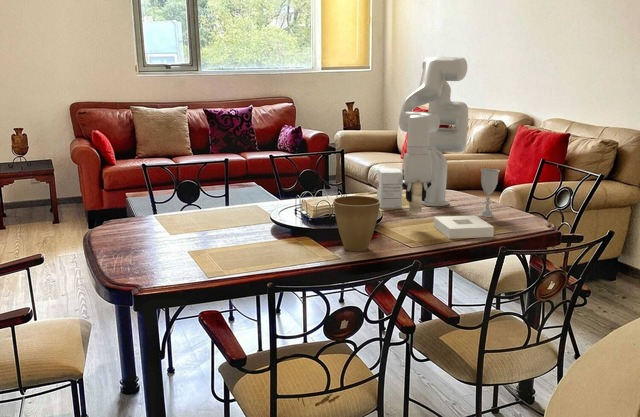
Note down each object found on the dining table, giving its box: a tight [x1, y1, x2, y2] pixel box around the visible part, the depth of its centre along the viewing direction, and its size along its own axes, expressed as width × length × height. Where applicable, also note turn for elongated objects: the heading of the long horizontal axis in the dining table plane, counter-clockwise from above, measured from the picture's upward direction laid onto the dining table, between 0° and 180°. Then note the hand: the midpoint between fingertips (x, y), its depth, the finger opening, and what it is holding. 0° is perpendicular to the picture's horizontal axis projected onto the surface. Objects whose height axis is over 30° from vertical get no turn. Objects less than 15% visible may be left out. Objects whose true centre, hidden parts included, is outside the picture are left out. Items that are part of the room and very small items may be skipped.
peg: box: [408, 180, 423, 213], centre depth 224 cm, size 4×4×12 cm
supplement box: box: [376, 168, 404, 209], centre depth 257 cm, size 9×9×15 cm
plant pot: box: [333, 195, 380, 252], centre depth 201 cm, size 15×15×16 cm
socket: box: [433, 214, 495, 240], centre depth 223 cm, size 16×16×4 cm
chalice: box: [479, 167, 501, 218], centre depth 243 cm, size 7×7×18 cm
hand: (415, 200), depth 225 cm, fingers closed on peg, 4 cm apart
